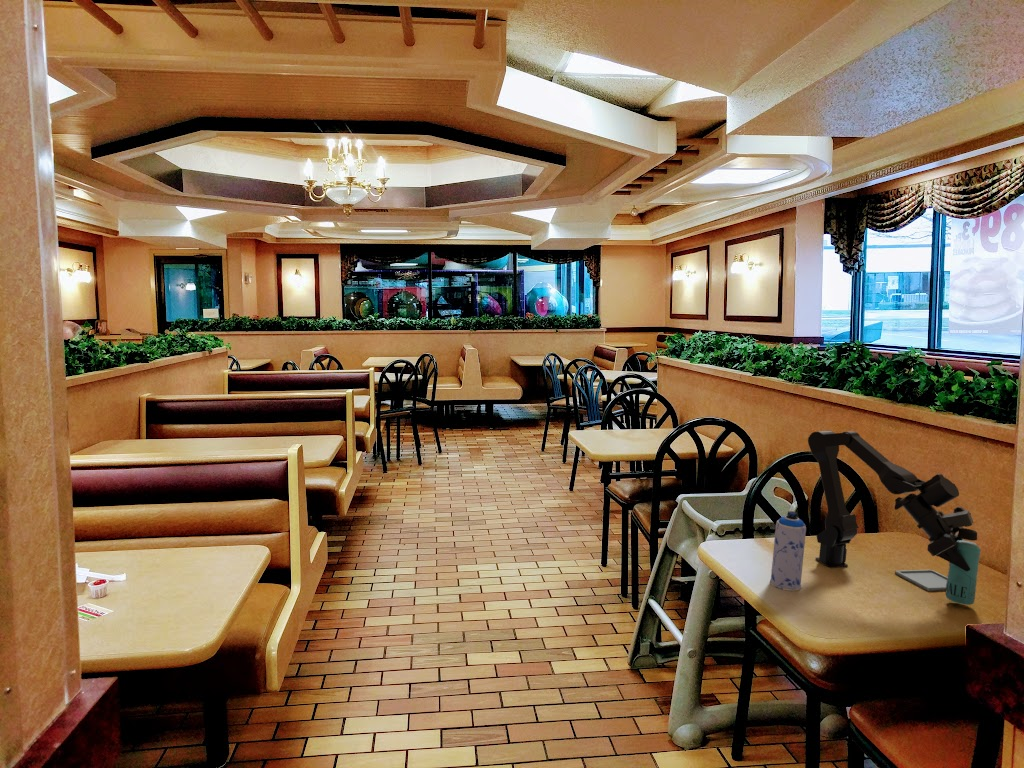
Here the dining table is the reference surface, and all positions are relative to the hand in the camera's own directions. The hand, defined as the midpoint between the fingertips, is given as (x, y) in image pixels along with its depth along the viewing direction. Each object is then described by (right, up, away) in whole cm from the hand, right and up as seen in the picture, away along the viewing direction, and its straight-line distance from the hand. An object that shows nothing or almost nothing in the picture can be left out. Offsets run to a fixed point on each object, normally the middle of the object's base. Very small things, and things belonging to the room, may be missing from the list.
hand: (970, 566), depth 173 cm
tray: (0, -9, +18) cm, 20 cm away
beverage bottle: (-2, -11, +2) cm, 11 cm away
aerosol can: (-43, -8, +10) cm, 45 cm away
